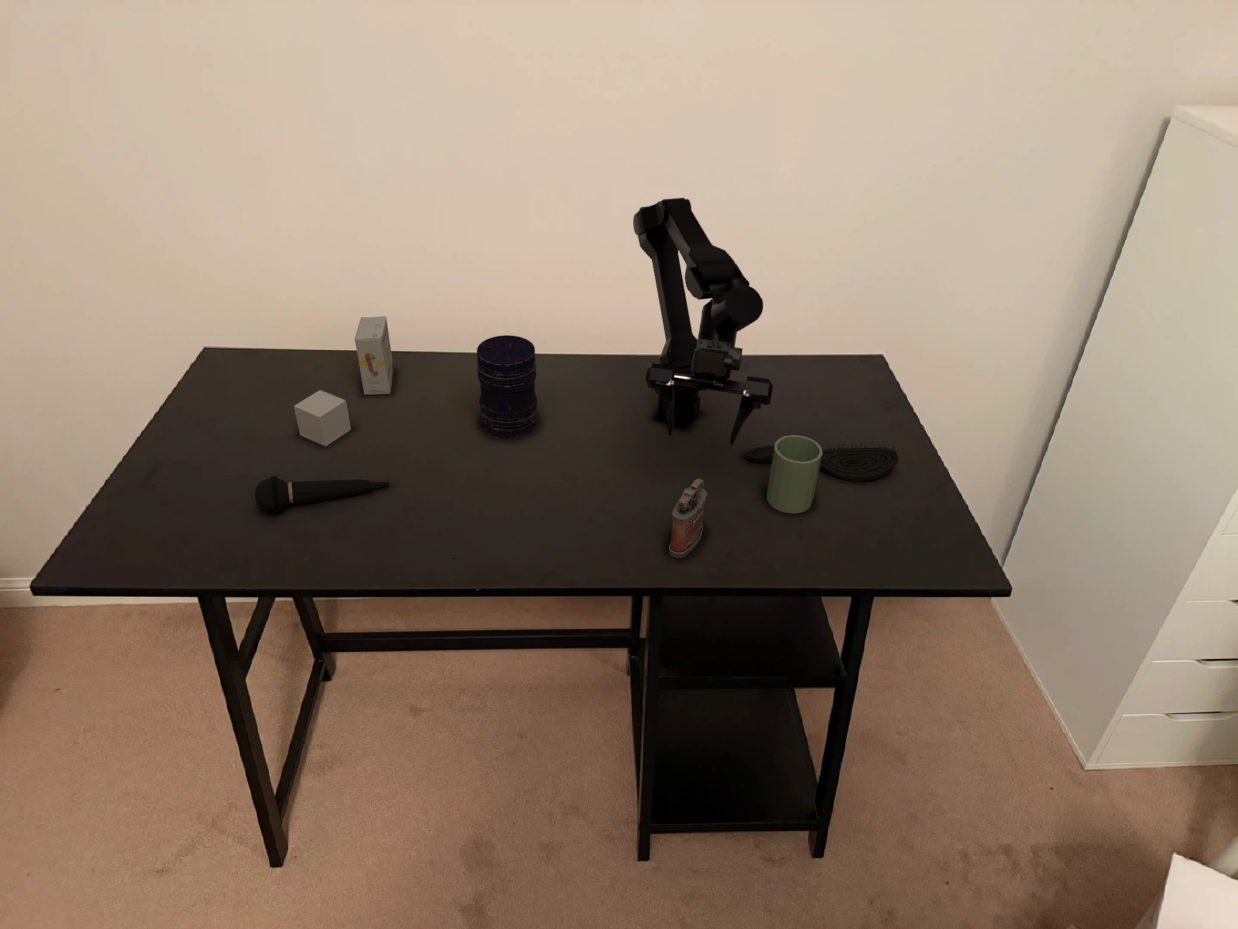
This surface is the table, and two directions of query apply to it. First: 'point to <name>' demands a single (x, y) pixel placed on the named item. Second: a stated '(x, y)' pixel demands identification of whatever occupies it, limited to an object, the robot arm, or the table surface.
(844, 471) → the hairbrush
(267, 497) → the microphone
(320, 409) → the light grey cube
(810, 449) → the pen cup
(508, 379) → the storage jar
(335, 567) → the table surface
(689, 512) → the lighter
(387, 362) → the ink box
